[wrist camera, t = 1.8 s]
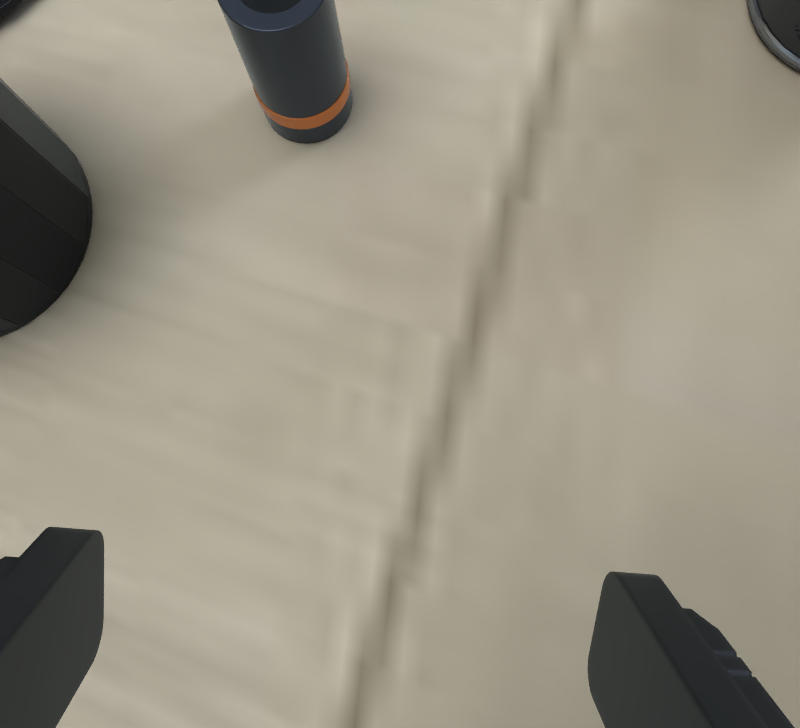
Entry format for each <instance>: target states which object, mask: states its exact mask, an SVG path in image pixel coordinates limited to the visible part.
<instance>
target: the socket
mask: <svg viewBox="0 0 800 728" xmlns="http://www.w3.org/2000/svg"><path fill="white" fill-rule="evenodd" d="M218 2H219V5H220V7H221V10H222V12H223V14H224V17H225V19H226V21H227V24H228V26H229V29H230V31H231V33H232V36H233V38H234V41H235V43H236V45H237V48H238V50H239V53H240V55H241V57H242V60H243V62H244V65H245V67H246V69H247V72H248V74H249V77H250V79H251V81H252V84H253V88H254V91H255V94H256V96H257V99H258V101H259V103H260V106H261V108H262V109H263V111H264V112H265V115H266V117H267V119H268V122H269V123H270V125H271V126H272V128H273V129H274V130H275V131H276V132H277V133H278V134H280V135H281V136H283V137H284V138H286V139H288V140H291V141H294V142H299V143H314V142H319V141H322V140H325V139H327V138H329V137H331V136H332V135H334V134H335V133H337V132H338V131H339V130H340V129H341V128H342V127H343V125H344V124H345V123H346V121H347V119H348V117H349V115H350V112H351V108H352V94H351V88H350V76H349V71H348V65H347V62H346V59H345V56H344V50H343V45H342V39H341V34H340V28H339V23H338V18H337V12H336V7H335V1H334V0H218Z"/></svg>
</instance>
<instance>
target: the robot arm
mask: <svg viewBox="0 0 800 728" xmlns="http://www.w3.org/2000/svg"><path fill="white" fill-rule="evenodd" d="M748 7H749V11H750V16H751V19H752V21H753V24H754V26H755V28H756V30H757V32H758V34H759V36H760V37H761V39H762V40H763V41H764V43H765V44H766V45H767V47H768V48H769V49H770V50H771V51H772V52H773V53H774V54H775V55H776V56H777V57H778V58H780V59H781V60H782V61H784V62H785V63H786V64H788V65H789V66H791V67H793V68H794V69H796V70H798V71H800V0H748ZM103 618H104V540H103V536H102V533H101V532H100V531H98V530H85V529H72V528H59V527H48V528H46V529H45V530H44V531H43V532H42V533H41V534H40V536H39V537H38V538H37V539H36V540H35V541H34V542H33V543H32V544H31V545H30V546H29V547H28V548H27V550H26V551H25V552H24V553H23V554H22V555H21V556H20V557H4V558H2V559H0V728H56V726H57V724H58V722H59V721H60V719H61V717H62V715H63V714H64V712H65V710H66V708H67V707H68V705H69V703H70V701H71V700H72V698H73V696H74V694H75V693H76V691H77V689H78V688H79V686H80V684H81V682H82V681H83V679H84V677H85V675H86V674H87V672H88V670H89V668H90V667H91V665H92V663H93V661H94V659H95V656H96V654H97V651H98V648H99V644H100V640H101V635H102V629H103ZM736 654H737V653H736V651H735V650H734V649H733V648H732V646H731V645H730V644H729V642H728V641H727V640H726V639H725V637H724V636H723V635H722V633H721V632H720V631H719V630H718V629H717V628H716V627H714V626H713V625H712V624H710V623H709V622H708V621H706V620H705V619H704V618H702V617H701V616H700V615H698V614H697V613H696V612H694V611H693V610H692V609H685V608H682V607H681V606H680V604H679V603H678V601H677V600H676V599H675V597H674V596H673V595H672V593H671V592H670V590H669V589H668V588H667V586H666V585H665V584H664V582H663V581H662V579H661V578H660V577H659V576H657V575H650V574H637V573H624V572H609V573H608V574H607V576H606V577H605V580H604V582H603V586H602V591H601V596H600V601H599V606H598V611H597V616H596V621H595V626H594V631H593V636H592V641H591V646H590V651H589V658H588V679H589V686H590V691H591V694H592V697H593V700H594V702H595V705H596V707H597V709H598V712H599V714H600V716H601V719H602V721H603V723H604V726H605V728H794V727H793V725H792V724H791V723H790V721H789V720H788V719H787V718H786V716H785V715H784V714H783V712H782V711H781V710H780V708H779V707H778V706H777V705H776V703H775V702H774V701H773V699H772V698H771V697H770V696H769V694H768V693H767V692H766V690H765V689H764V688H763V686H762V685H761V684H760V683H759V681H758V680H757V679H756V677H752V675H751V673H752V672H751V671H750V670H749V668H748V667H747V666H746V664H745V663H744V662H743V661H742V659H741V658H739V657H737V655H736Z"/></svg>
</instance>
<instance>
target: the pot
mask: <svg viewBox="0 0 800 728" xmlns="http://www.w3.org/2000/svg"><path fill="white" fill-rule="evenodd" d="M91 225H92V204H91V195H90V191H89V186H88V182H87V179H86V177H85V174H84V172H83V169H82V167H81V165H80V164H79V162H78V160H77V158H76V156H75V154H74V153H73V152H72V151H71V150H70V149H69V148H68V146H67V145H66V144H65V143H64V142H63V141H62V140H61V139H60V138H59V137H58V136H57V135H56V134H55V133H54V131H53V130H52V129H51V128H50V127H49V126H48V125H47V124H46V123H45V122H44V121H43V120H42V119H41V118H40V117H39V116H38V115H37V114H36V113H35V112H34V111H33V110H32V109H31V108H30V107H29V106H28V105H27V104H26V103H25V102H24V101H23V100H22V99H21V98H20V97H19V96H18V95H17V94H16V93H15V92H14V91H13V90H12V89H11V88H10V87H9V86H8V85H7V84H6V83H5V82H4V81H3V80H2V79H1V78H0V336H3V335H5V334H8V333H10V332H12V331H14V330H17V329H18V328H20V327H22V326H24V325H25V324H27V323H29V322H30V321H32V320H33V319H35V318H36V317H37V316H39V315H40V314H41V313H42V312H44V311H45V310H46V309H47V308H48V307H49V306H50V305H51V304H52V303H53V302H54V301H55V300H57V298H58V297H59V296H60V295H61V294H62V292H63V291H64V290H65V289H66V287H67V286H68V285H69V283H70V282H71V280H72V278H73V277H74V275H75V274H76V272H77V270H78V268H79V266H80V264H81V262H82V260H83V257H84V254H85V251H86V248H87V245H88V242H89V237H90V232H91Z"/></svg>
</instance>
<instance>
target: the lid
mask: <svg viewBox="0 0 800 728" xmlns="http://www.w3.org/2000/svg"><path fill="white" fill-rule="evenodd" d="M22 1H23V0H0V18H1V17H3V16H4V15H5V14H7V13H8V12H10V11H11V10H12V9H14V8H15V7H16V6H17V5H18V4H19V3H20V2H22Z"/></svg>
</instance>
